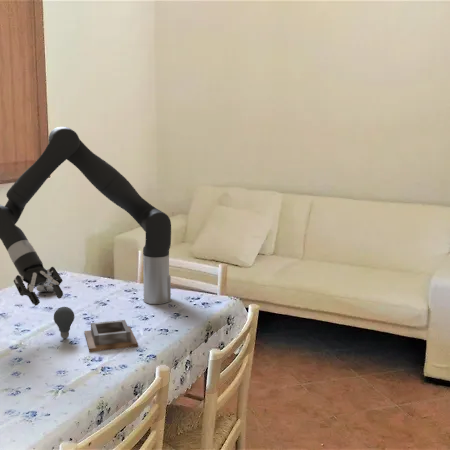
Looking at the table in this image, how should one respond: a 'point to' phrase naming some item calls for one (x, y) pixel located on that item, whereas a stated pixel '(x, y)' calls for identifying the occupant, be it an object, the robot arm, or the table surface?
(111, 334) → the socket stand
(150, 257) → the robot arm
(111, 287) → the table surface
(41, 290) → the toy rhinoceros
